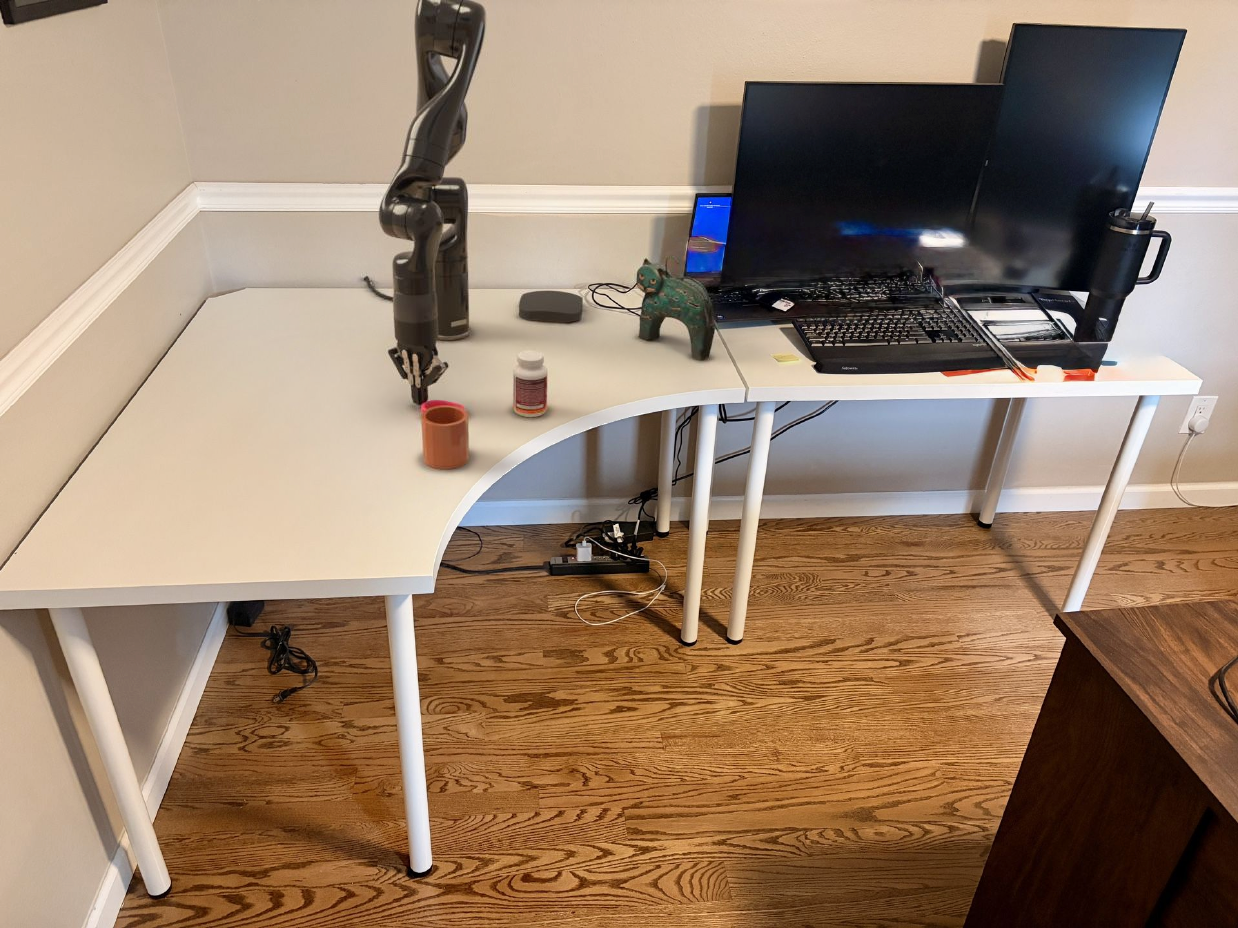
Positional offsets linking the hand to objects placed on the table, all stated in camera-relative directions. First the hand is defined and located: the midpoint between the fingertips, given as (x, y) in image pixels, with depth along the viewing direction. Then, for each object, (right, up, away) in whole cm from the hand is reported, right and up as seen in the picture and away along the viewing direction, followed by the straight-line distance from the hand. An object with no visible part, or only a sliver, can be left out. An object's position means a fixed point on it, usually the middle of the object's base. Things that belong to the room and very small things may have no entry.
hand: (419, 402), depth 166 cm
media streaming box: (+20, +25, +48) cm, 58 cm away
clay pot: (+8, -10, -16) cm, 21 cm away
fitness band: (+5, -2, -2) cm, 5 cm away
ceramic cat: (+48, +15, +34) cm, 61 cm away
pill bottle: (+20, -1, +2) cm, 20 cm away
